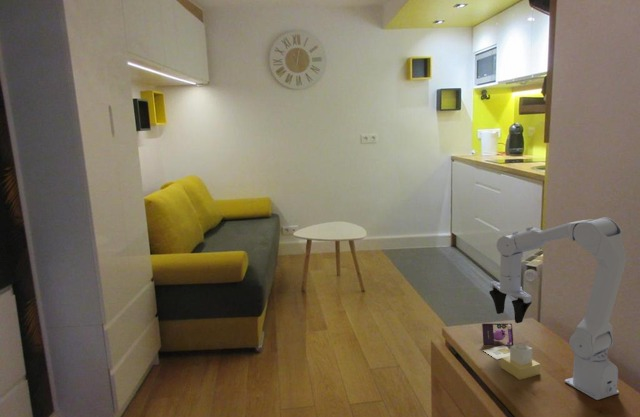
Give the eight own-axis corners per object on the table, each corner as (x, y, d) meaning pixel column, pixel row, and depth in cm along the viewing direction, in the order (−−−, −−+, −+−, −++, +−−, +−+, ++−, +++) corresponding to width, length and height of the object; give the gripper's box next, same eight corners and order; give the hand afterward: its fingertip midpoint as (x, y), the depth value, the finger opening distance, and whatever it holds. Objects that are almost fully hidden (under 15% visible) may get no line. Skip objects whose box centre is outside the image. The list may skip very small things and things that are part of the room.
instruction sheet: (518, 354, 135) (518, 353, 135) (496, 359, 132) (496, 358, 132) (503, 345, 140) (503, 344, 140) (482, 351, 138) (482, 350, 138)
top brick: (532, 361, 124) (532, 345, 124) (522, 365, 123) (522, 349, 122) (519, 355, 128) (520, 340, 127) (510, 359, 126) (510, 343, 125)
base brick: (539, 374, 124) (540, 364, 123) (520, 379, 121) (520, 369, 121) (520, 362, 130) (520, 352, 130) (501, 367, 128) (501, 357, 127)
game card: (482, 323, 142) (512, 323, 141) (479, 322, 147) (507, 322, 146) (484, 345, 140) (514, 346, 139) (480, 343, 146) (509, 344, 145)
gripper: (540, 279, 129) (538, 324, 131) (503, 266, 142) (502, 307, 144) (521, 283, 126) (519, 328, 129) (485, 269, 140) (484, 310, 142)
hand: (509, 317), depth 136 cm, fingers open, 7 cm apart
